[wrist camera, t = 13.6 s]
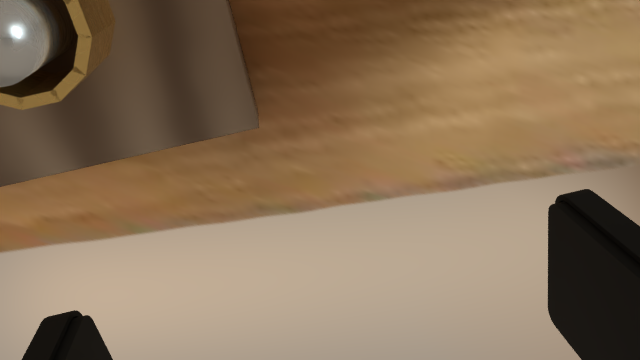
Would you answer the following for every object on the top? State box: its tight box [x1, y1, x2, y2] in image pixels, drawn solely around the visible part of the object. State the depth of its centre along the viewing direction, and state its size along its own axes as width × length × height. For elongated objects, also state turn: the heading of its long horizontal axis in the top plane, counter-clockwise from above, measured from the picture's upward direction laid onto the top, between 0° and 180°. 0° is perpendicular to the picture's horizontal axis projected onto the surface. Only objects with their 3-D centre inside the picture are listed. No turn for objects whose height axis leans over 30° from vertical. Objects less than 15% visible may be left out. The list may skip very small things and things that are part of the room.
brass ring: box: [0, 0, 116, 110], centre depth 27 cm, size 7×7×5 cm
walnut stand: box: [0, 0, 259, 187], centre depth 31 cm, size 20×14×3 cm
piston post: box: [0, 0, 78, 87], centre depth 26 cm, size 4×4×7 cm
